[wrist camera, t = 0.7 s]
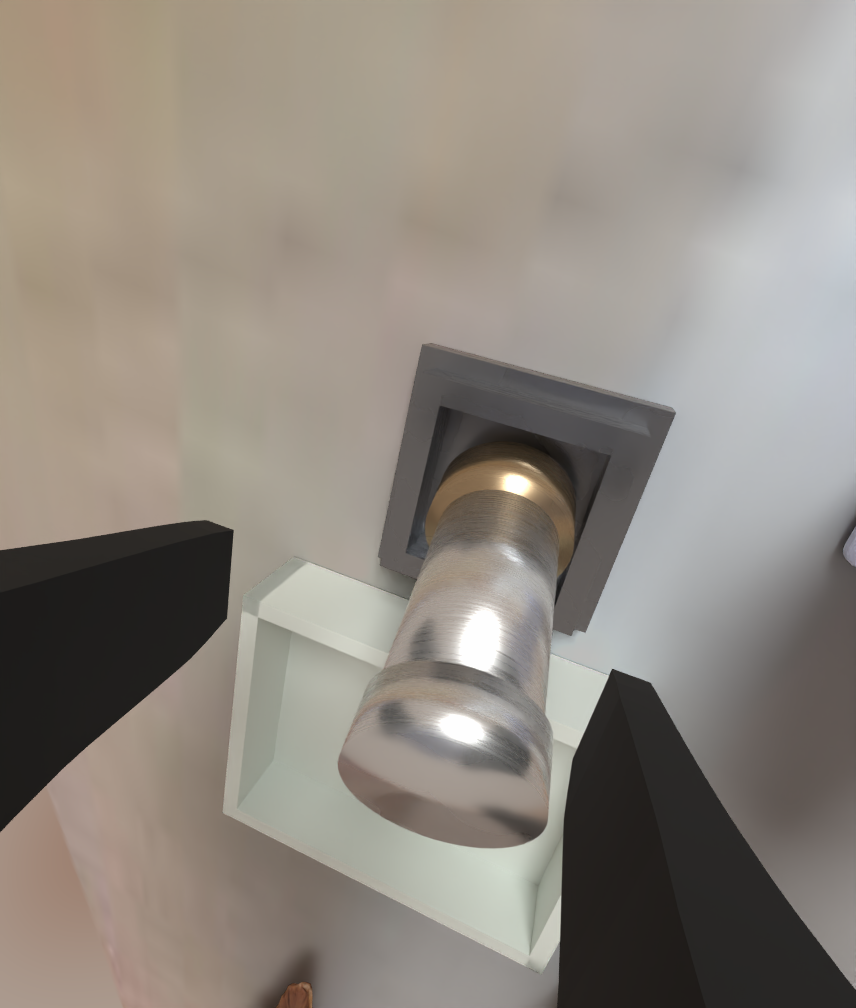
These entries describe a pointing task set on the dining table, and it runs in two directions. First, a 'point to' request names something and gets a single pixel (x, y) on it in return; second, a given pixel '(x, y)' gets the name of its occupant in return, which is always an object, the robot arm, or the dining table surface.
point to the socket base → (537, 423)
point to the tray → (329, 803)
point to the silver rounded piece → (472, 660)
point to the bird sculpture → (297, 996)
